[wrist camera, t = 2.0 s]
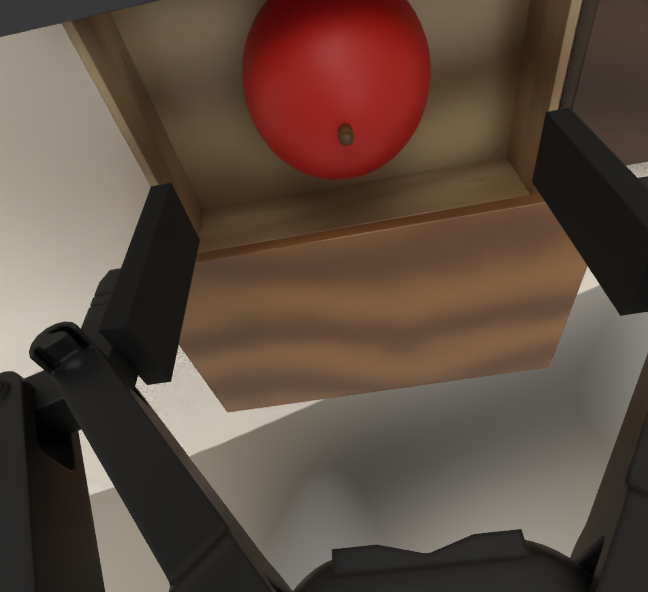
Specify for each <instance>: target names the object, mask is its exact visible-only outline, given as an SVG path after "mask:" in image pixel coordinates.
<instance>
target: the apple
mask: <svg viewBox="0 0 648 592" xmlns="http://www.w3.org/2000/svg"><path fill="white" fill-rule="evenodd" d="M430 75H431V67H430V52H429V47H428V42H427V39H426V36H425V33H424V30H423V27H422V24H421V22H420V20H419V18H418V16H417V14H416V12H415V10H414V9H413V8H412V6H411V5H410V3H409V2H408V1H407V0H267V1H266V2H265V3H264V4H263V6H262V7H261V9H260V10H259V12H258V14H257V15H256V17H255V19H254V21H253V24H252V26H251V28H250V31H249V33H248V36H247V40H246V43H245V47H244V52H243V59H242V84H243V92H244V97H245V101H246V105H247V108H248V110H249V113H250V116H251V118H252V121H253V123H254V124H255V126H256V128H257V130H258V132H259V133H260V135H261V137H262V138H263V139H264V141H265V142H266V144H267V145H268V146H269V148H270V149H271V150H272V151H273V152H274V153H275V154H276V155H277V156H278V157H279V158H280V159H281V160H283V161H284V162H285V163H287V164H288V165H290V166H291V167H293V168H294V169H296V170H298V171H300V172H302V173H304V174H307V175H310V176H313V177H317V178H322V179H330V180H342V179H350V178H355V177H359V176H362V175H365V174H368V173H370V172H372V171H374V170H376V169H378V168H380V167H382V166H383V165H385V164H386V163H388V162H389V161H390V160H392V159H393V158H394V157H395V156H396V155H397V154H398V153H399V152H400V151H401V150H402V149H403V148H404V147H405V145H406V144H407V143H408V141H409V140H410V139H411V137H412V136H413V134H414V132H415V131H416V129H417V127H418V125H419V123H420V121H421V118H422V115H423V112H424V109H425V106H426V102H427V97H428V92H429V86H430Z"/></svg>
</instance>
